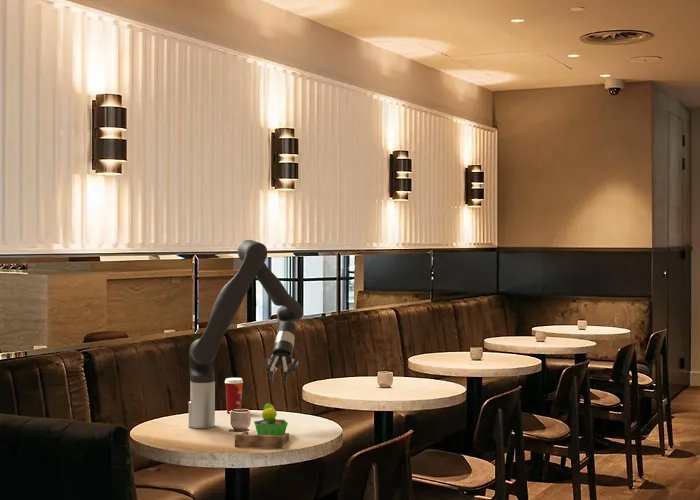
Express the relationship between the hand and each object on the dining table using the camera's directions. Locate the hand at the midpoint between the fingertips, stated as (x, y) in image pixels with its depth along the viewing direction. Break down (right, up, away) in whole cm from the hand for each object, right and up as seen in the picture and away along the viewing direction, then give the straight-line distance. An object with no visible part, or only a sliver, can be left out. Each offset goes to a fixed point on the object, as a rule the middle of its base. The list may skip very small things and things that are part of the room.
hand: (277, 381), depth 364 cm
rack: (-4, -19, -24) cm, 31 cm away
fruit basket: (-2, -19, -11) cm, 22 cm away
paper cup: (-20, -17, +31) cm, 41 cm away
